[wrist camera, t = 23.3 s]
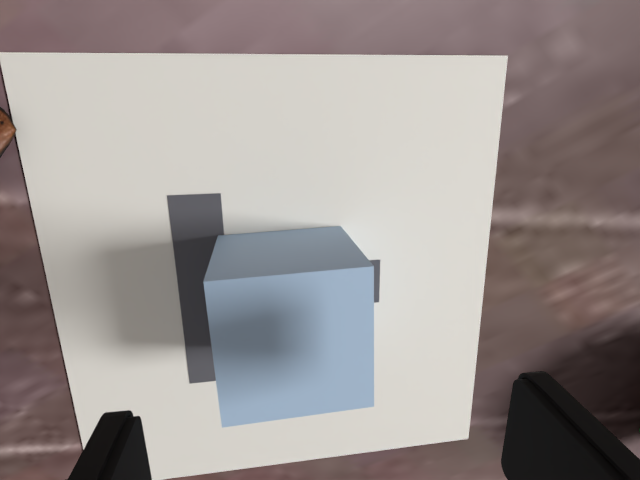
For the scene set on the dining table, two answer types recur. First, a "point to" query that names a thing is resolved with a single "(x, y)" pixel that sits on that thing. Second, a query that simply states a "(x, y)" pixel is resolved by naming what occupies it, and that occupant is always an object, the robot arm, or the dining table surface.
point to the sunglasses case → (5, 131)
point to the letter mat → (258, 228)
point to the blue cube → (290, 324)
